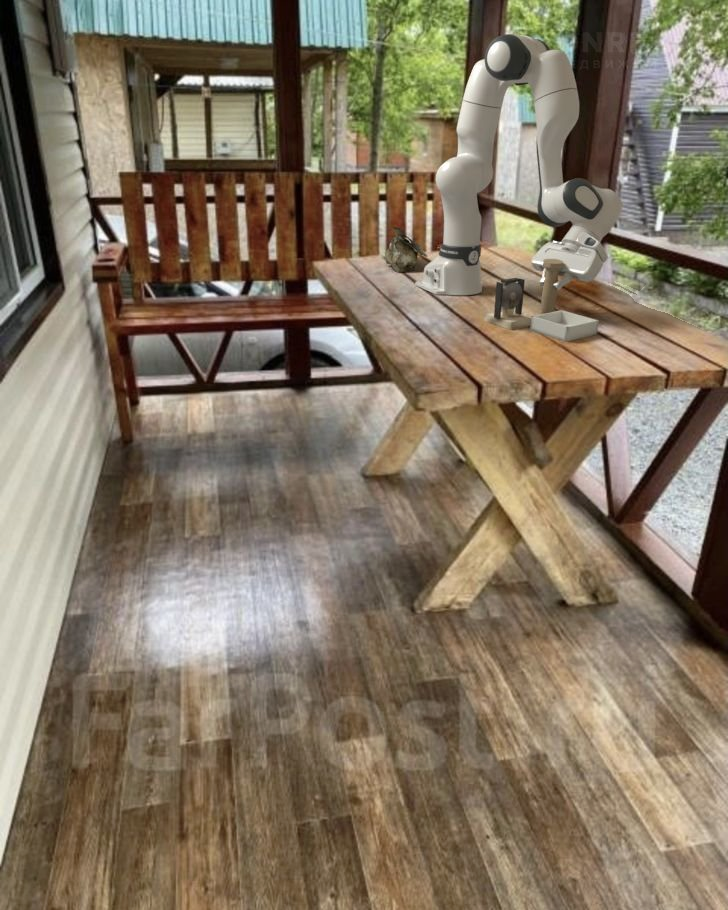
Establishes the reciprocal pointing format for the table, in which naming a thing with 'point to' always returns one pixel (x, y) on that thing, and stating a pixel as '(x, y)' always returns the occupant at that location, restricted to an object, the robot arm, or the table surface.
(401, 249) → the hollow geode rock
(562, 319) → the tray
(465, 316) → the table surface
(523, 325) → the pulley block
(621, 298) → the table surface
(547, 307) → the handle
